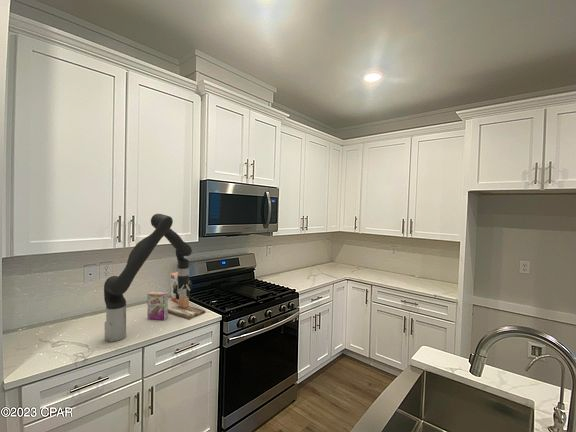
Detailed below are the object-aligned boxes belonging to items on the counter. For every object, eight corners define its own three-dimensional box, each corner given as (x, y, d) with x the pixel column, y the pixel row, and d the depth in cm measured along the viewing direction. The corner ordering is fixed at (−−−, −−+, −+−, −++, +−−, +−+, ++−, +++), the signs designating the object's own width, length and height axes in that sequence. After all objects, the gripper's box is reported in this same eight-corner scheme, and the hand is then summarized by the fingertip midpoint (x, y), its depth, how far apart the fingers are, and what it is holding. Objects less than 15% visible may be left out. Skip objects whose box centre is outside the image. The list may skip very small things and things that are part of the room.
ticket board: (188, 319, 180) (188, 315, 180) (165, 312, 191) (165, 308, 191) (205, 312, 192) (205, 308, 192) (182, 306, 203) (182, 302, 203)
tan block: (184, 308, 195) (184, 299, 195) (178, 306, 198) (178, 297, 198) (188, 306, 199) (188, 297, 199) (182, 304, 202) (182, 296, 202)
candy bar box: (147, 319, 179) (146, 293, 179) (151, 316, 184) (151, 291, 184) (164, 320, 178) (164, 294, 178) (168, 317, 183) (168, 292, 182)
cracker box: (170, 300, 215) (170, 272, 214) (178, 298, 219) (178, 271, 218) (180, 304, 206) (180, 276, 205) (187, 302, 210) (187, 274, 209)
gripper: (178, 277, 190) (178, 301, 190) (195, 273, 202) (194, 296, 203) (170, 275, 193) (170, 299, 194) (187, 271, 206) (187, 294, 206)
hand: (182, 297), depth 198 cm, fingers open, 8 cm apart
